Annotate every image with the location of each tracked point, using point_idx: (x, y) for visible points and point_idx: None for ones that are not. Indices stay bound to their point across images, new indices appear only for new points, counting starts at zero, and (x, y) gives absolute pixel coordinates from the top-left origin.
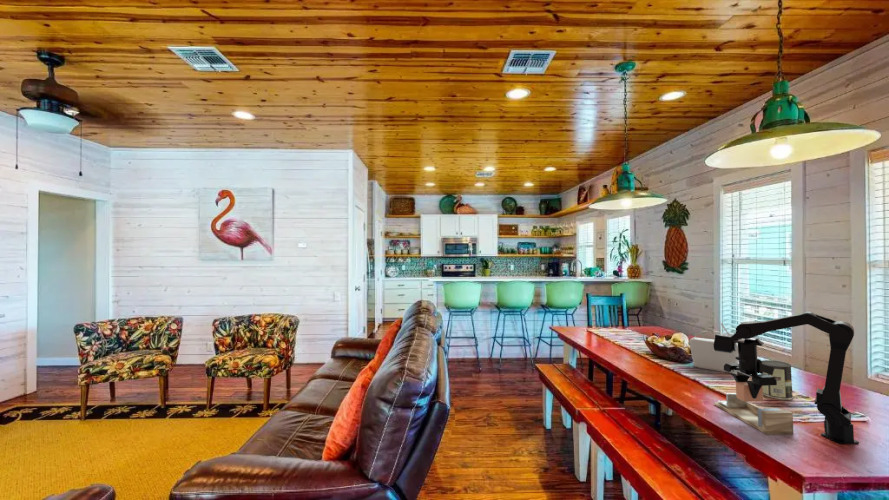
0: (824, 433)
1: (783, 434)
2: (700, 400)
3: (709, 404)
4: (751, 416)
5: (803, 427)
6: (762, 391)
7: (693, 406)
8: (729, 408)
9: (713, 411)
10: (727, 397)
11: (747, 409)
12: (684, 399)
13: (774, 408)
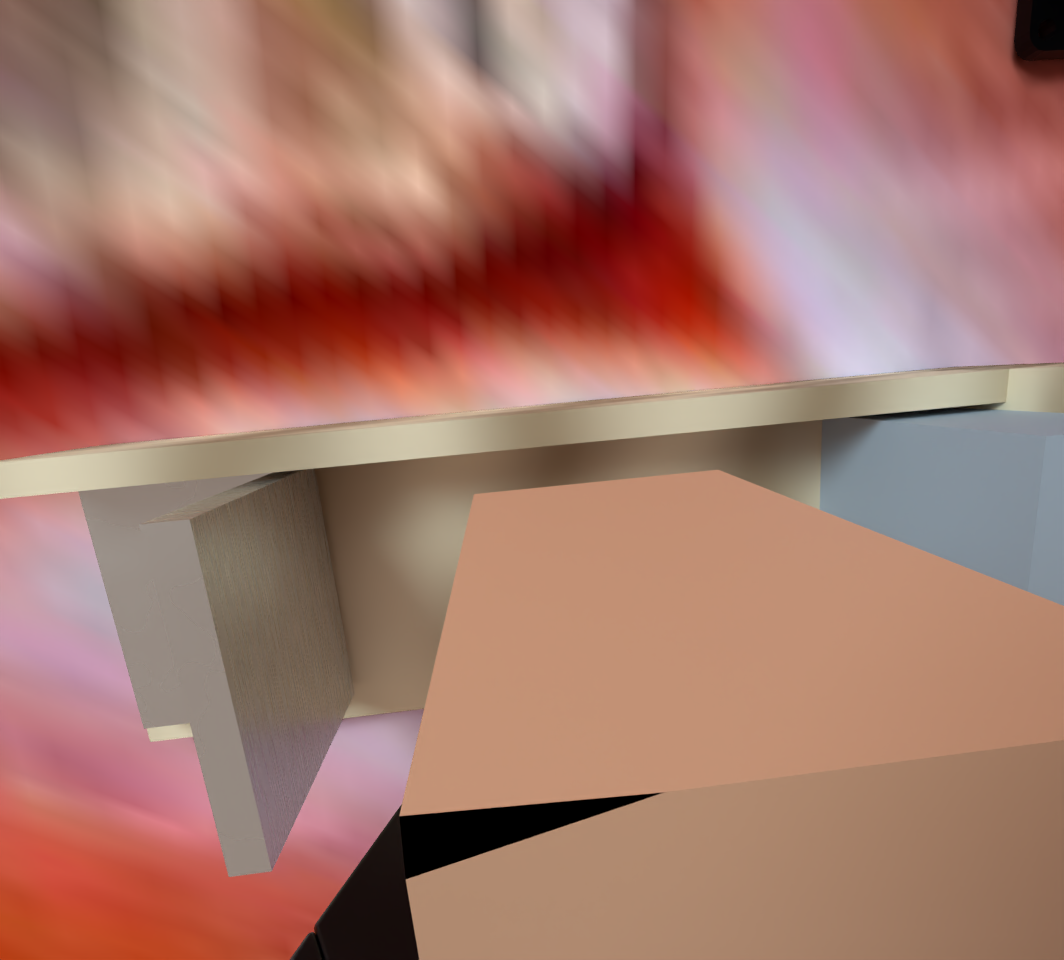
0: (1047, 1)
1: None
2: (44, 807)
3: (172, 768)
4: None
5: (814, 97)
6: (894, 557)
7: (265, 943)
8: (353, 672)
9: (390, 818)
10: (293, 808)
11: (368, 474)
12: (47, 954)
13: (1044, 494)
